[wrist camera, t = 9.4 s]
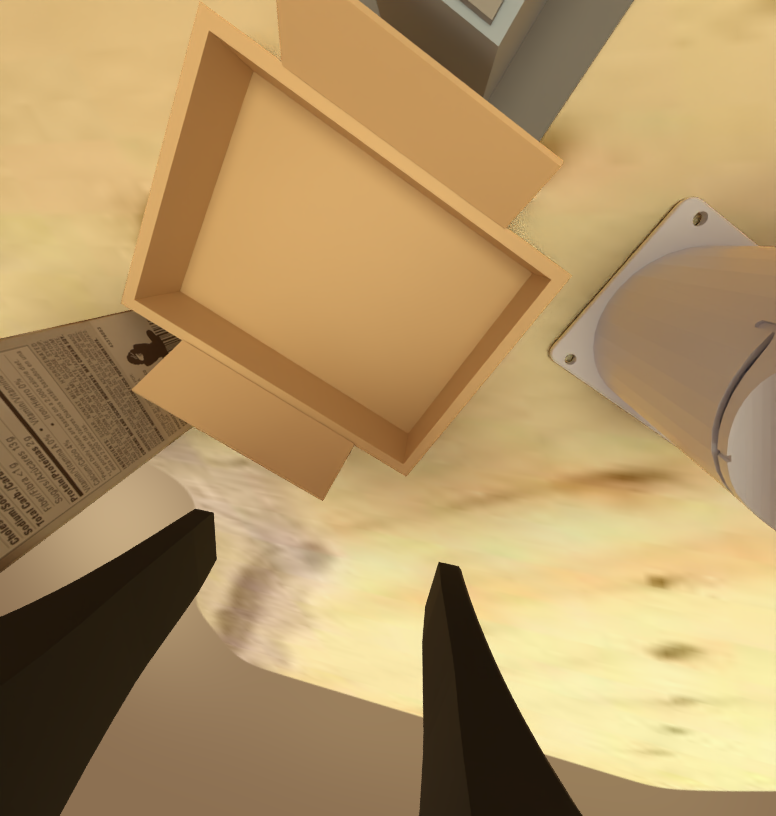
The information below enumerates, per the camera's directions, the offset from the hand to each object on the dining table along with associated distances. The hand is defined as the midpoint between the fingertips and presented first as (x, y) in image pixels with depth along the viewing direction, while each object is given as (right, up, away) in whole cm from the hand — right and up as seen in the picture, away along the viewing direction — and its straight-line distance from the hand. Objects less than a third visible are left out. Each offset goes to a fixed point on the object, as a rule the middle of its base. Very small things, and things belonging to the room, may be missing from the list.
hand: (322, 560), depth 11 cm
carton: (0, +11, +6) cm, 13 cm away
